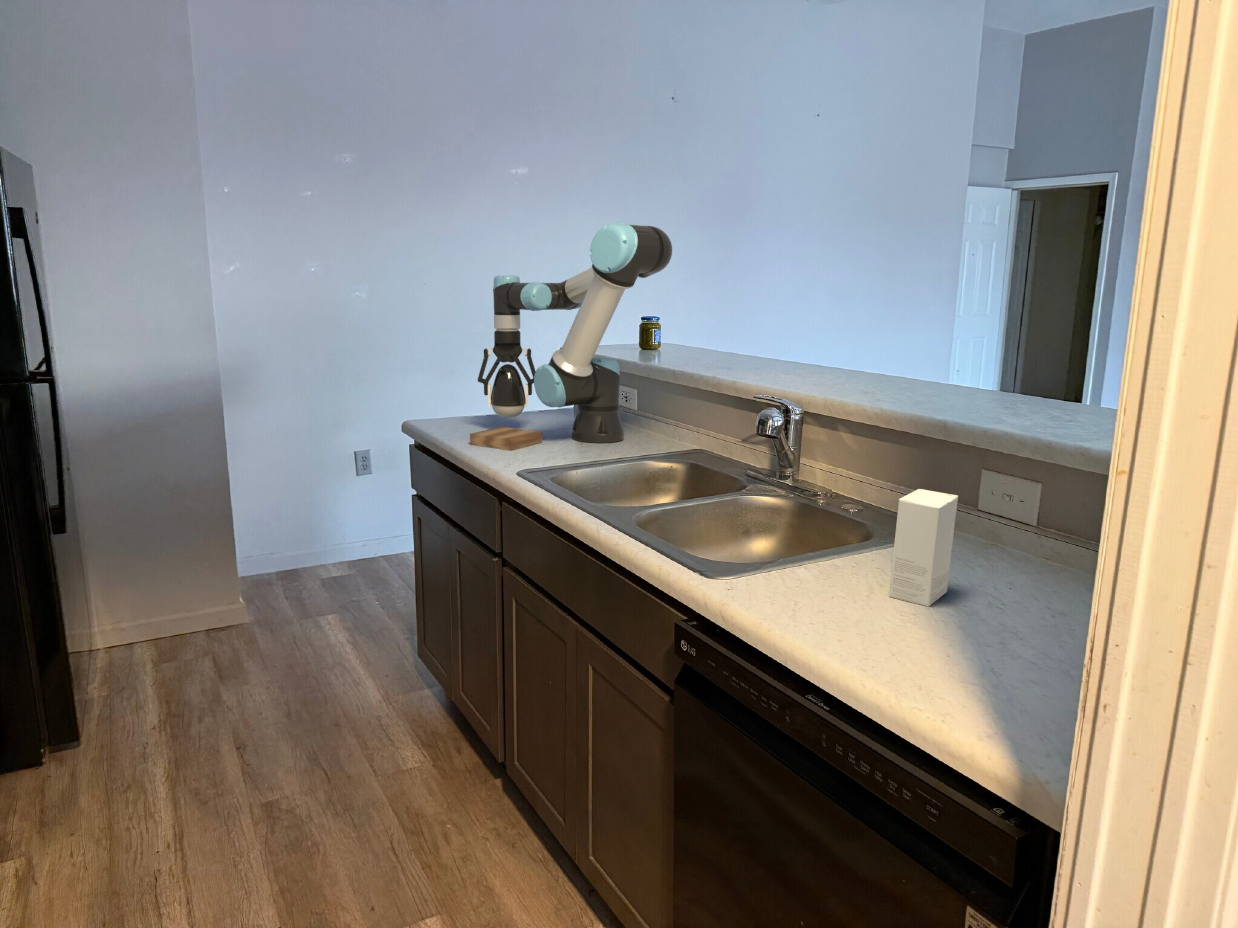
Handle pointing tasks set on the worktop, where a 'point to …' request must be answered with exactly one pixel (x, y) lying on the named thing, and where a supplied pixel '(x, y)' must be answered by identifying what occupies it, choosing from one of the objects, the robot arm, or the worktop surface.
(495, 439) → the walnut stand
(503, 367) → the glossy black egg shape
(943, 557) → the skincare box
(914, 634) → the worktop surface
